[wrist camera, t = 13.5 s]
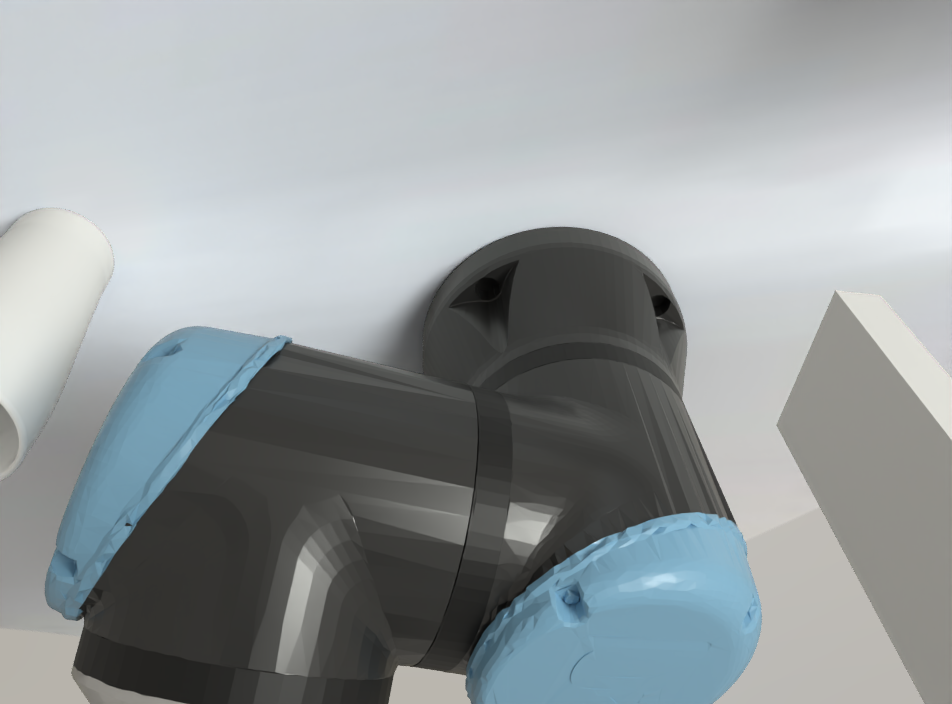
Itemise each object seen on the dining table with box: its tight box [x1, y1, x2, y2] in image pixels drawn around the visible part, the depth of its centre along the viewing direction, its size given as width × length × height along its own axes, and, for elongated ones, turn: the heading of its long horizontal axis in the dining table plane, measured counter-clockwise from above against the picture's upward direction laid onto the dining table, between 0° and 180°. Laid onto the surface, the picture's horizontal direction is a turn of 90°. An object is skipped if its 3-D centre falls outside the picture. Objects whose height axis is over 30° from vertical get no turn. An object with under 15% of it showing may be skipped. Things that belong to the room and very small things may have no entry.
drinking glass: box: [0, 208, 114, 481], centre depth 40 cm, size 7×7×15 cm
